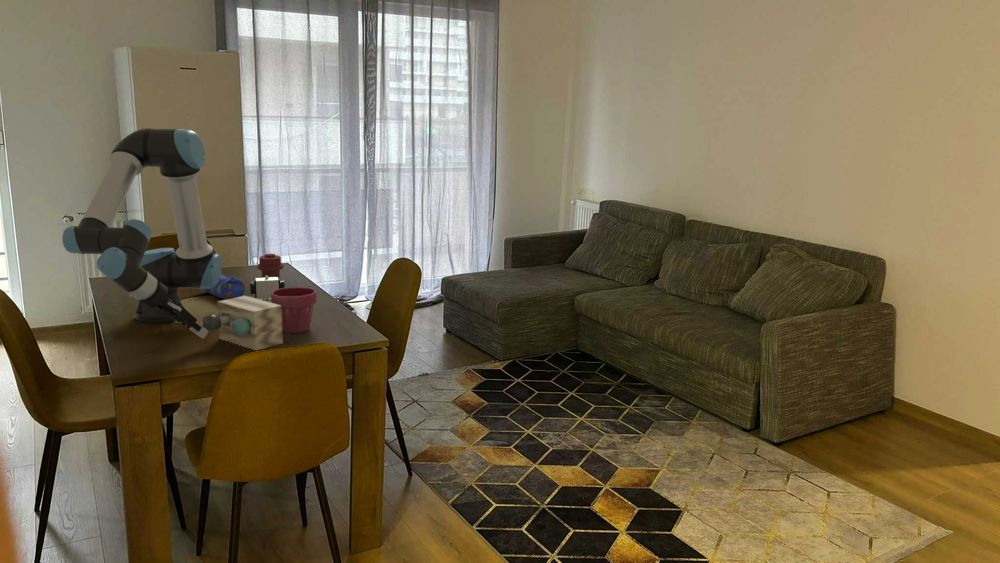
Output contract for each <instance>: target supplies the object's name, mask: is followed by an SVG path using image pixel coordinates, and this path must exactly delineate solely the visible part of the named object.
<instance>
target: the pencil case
mask: <svg viewBox="0 0 1000 563" xmlns="http://www.w3.org/2000/svg"><path fill="white" fill-rule="evenodd" d="M203 290H204V292H206V293H208V294H210V295H212V296H215V297H217V298H220V299H222V300H227V299H232V298H237V297H241V296H244V293H245V284H244V283H243V281H242V280H240V279H239V278H237V277H235V276H233V275H225V274H222V273H221V276H220V279H219V281H218V283H217V285H216V286H215V287H214V288H208V289H203Z"/></svg>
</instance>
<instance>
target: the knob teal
mask: <svg viewBox="0 0 1000 563" xmlns="http://www.w3.org/2000/svg"><path fill="white" fill-rule="evenodd" d="M232 330H233V332H234V334H235V335H237V336H240V335H244V334H248V333H249V332H250V321H248V320H247V319H246V318H242V319H237V320H234V321H233V322H232Z"/></svg>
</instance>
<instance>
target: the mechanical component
mask: <svg viewBox="0 0 1000 563" xmlns="http://www.w3.org/2000/svg"><path fill="white" fill-rule="evenodd" d="M258 262H259V263H258V264H257V270H258V271H260V272H261V278H265V276H268V277H279V278H280V279H281V275H280V274H281V273H280V271H281V270H283V269H284V264H283V263H282V257H281V255H276V254H275V253H265V254H264V255H261V256H259V258H258Z"/></svg>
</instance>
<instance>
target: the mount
mask: <svg viewBox="0 0 1000 563" xmlns="http://www.w3.org/2000/svg"><path fill="white" fill-rule="evenodd" d="M216 302H217V304H216V305H217V315H218V316H219V317H223V316H228V315H230V322H229V323H225V324H221V327H220V329H218V336H219V340H221V339H222V340H221V341H224V340H225V342H227V341H229V342H228V343H231V342H232V343H231V344H234V343H235V344H234V345H237V344H238V345H237V346H240V345H241V347H243V346H244V347H243V348H246V347H248V348H247V349H249V348H251V349H250V350H252V349H253V350H252V351H255V350H256V351H260V350H264V349H266V348H270V347H273V346H277V345H281V344H284V341H283V339H284V337H283V331H282V308H281V305H278V304H274V303H270V302H267V301H263V300H262V299H260V298H255V297H251V296H247V295H243V296H241V297H237V298H232V299H227V300H226V299H222V300H218V301H216ZM242 318H246V319H247V320H248V321H250V332H249V333H248V334H244V335H240V336H237V335H235V334H234V332H233V330H232V322H233V321H234V320H237V319H242Z"/></svg>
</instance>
